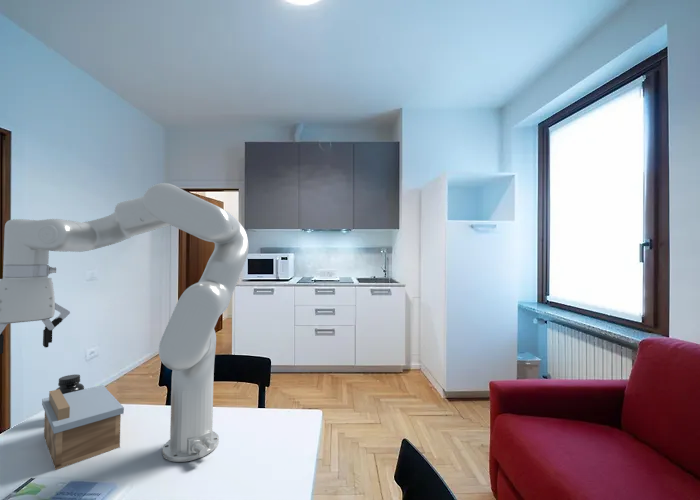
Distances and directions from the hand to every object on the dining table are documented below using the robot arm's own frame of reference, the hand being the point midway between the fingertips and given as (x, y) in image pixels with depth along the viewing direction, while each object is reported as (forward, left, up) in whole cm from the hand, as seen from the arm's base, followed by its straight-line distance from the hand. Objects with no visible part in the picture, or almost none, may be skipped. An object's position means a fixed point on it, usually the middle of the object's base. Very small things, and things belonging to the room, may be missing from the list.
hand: (23, 348), depth 77 cm
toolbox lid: (0, -11, -17) cm, 21 cm away
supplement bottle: (+18, -11, -26) cm, 33 cm away
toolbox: (0, -11, -26) cm, 28 cm away
